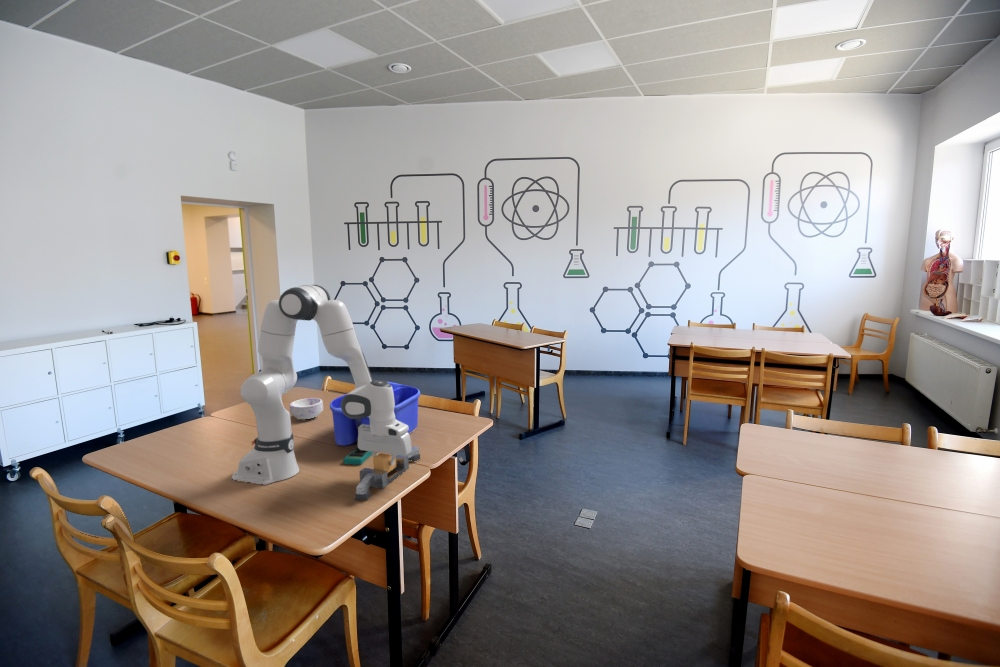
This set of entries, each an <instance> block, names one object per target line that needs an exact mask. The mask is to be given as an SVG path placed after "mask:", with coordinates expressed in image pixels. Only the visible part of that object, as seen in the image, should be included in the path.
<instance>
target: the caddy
mask: <svg viewBox="0 0 1000 667" xmlns="http://www.w3.org/2000/svg"><path fill="white" fill-rule="evenodd" d="M387 382H388V383H390V384H391V386H392V388H393V393H394V401H395V407H394V414H395V419H396V420H398V421H400V422H402V423H404V424H406V425H408V427H409V430H408V431H407V432H408V433H410V432H412V431H413V430H414V429H415V428H416V427H417V428H418V421H419V418H418V416H419V397H420V396H421V391H420V389H418V388H417V387H414V386H412V385H411V386H410V385H407V384H406V385H405V384H401V383H396V382H391V381H387ZM347 394H348V393H345V394H344V395H341V396H339V397H336V398H335V399H333V400H332V401H331V402H330V403H329V409H330V410H331V412H332V421H333V429H334V440H335V444H336V445H337V446H349V445H351V444H354V443H356V442H358V434H359V433H358V427H359V426H360V425H362V424H365V425H370V419H369V417H365V418H360V419H350V418H348V417H347V416H345V414H344V413H343V412H342V409H341V401H342V399H343V397H344V396H346V395H347ZM412 433H413V432H412Z"/></svg>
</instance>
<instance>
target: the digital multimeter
mask: <svg viewBox="0 0 1000 667" xmlns="http://www.w3.org/2000/svg"><path fill="white" fill-rule="evenodd" d="M371 456H373V455H372V451H365V450H360V449H359V448H358V446H356V448H355V449H354V450H352V451H351V452H350V453H349V454H347V455H346V456H345V457H343V464H344V465H350V464H352V466H353V465H355V466H362V465H363V464H364V463H365V462H366V461H367V460H368V459H369V458H370V457H371ZM366 459H367V460H366ZM365 460H366V461H365ZM364 461H365V462H364ZM363 462H364V463H363ZM361 464H362V465H361Z"/></svg>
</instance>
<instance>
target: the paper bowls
mask: <svg viewBox="0 0 1000 667" xmlns="http://www.w3.org/2000/svg"><path fill="white" fill-rule="evenodd" d="M323 411H324V402H323V399H321V398H320V397H319V398H317V397H309V398H308V397H307V398H306V397H305V398H301V399H297V400H294V401H292V402H290V403H289V413H290V416H293V417H294V418H295V419H296V418H298V419H310V418H314V417H316V416H318V417H319V415H320V413H322V412H323ZM316 418H317V417H316ZM298 419H297V420H298ZM314 419H315V418H314Z"/></svg>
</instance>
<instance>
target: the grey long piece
mask: <svg viewBox="0 0 1000 667" xmlns="http://www.w3.org/2000/svg"><path fill="white" fill-rule="evenodd" d="M419 459H420V460H421V453H420V446H416V445H413V446H411V452H410V453H409V454H408V455H406V456H401V455H397V456H396V467H395V468H394V469H393V470H392V471H395V470H398V471H395V473H393V474H392V475H390V476H389V477H388V473H387V471H382V470H376V469H374V468H367V467H363V468H362V469H360V470H359V483H358V485H357V486H356V487H355V488H356V489H355V490H356V492H355V493H354V499H355V500H354V501H366V500H367V501H368V500H369V499H370V498H371V489H369V488H375V487H377V488H376V489H381V488H382V489H381V490H383V489H384V487H385V486H386V487H387V486H389V485H390V484H391V483H392V482H394V481H395V480H396V479H398V478H399V477H400V476H401V475H403V474H404V473H405V472H407V471H408V470H409V469H410V464H409V462H410V461H409V460H412V461H417V460H419ZM420 460H419V461H420ZM412 461H411V462H412ZM417 462H418V461H417ZM408 468H409V469H408ZM407 469H408V470H407ZM406 470H407V471H406ZM403 472H404V473H403ZM402 473H403V474H402ZM399 475H400V476H399ZM398 476H399V477H398ZM397 477H398V478H397ZM394 479H395V480H394ZM393 480H394V481H393ZM389 483H390V484H389ZM370 486H371V487H370ZM386 487H385V488H386ZM369 497H370V498H369Z"/></svg>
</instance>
